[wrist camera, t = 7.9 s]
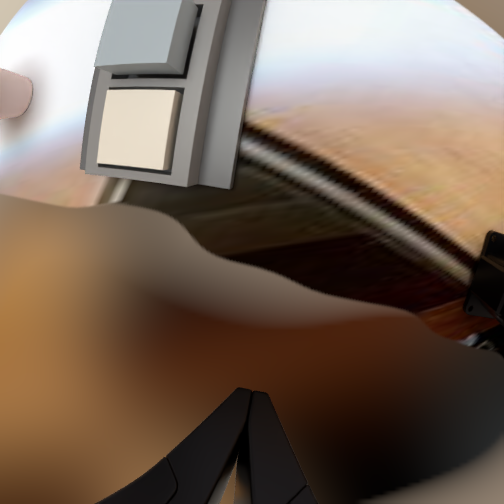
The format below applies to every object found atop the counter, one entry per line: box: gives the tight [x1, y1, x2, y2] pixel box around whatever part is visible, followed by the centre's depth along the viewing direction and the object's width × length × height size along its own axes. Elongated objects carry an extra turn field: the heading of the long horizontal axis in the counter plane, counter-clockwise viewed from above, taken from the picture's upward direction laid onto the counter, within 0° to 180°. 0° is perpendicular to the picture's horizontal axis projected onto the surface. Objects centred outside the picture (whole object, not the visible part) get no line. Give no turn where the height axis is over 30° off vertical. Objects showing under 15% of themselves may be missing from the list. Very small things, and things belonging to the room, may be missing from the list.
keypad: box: [80, 0, 266, 189], centre depth 16 cm, size 11×17×3 cm, turn 170°
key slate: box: [94, 0, 198, 75], centre depth 13 cm, size 4×4×2 cm
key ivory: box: [97, 90, 184, 170], centre depth 17 cm, size 4×4×2 cm
